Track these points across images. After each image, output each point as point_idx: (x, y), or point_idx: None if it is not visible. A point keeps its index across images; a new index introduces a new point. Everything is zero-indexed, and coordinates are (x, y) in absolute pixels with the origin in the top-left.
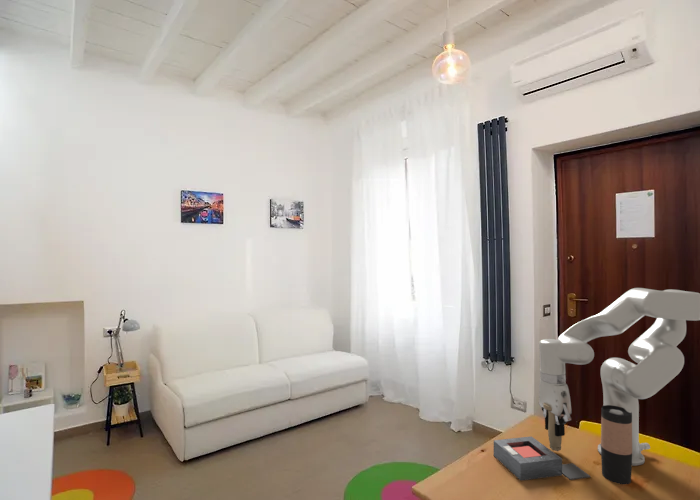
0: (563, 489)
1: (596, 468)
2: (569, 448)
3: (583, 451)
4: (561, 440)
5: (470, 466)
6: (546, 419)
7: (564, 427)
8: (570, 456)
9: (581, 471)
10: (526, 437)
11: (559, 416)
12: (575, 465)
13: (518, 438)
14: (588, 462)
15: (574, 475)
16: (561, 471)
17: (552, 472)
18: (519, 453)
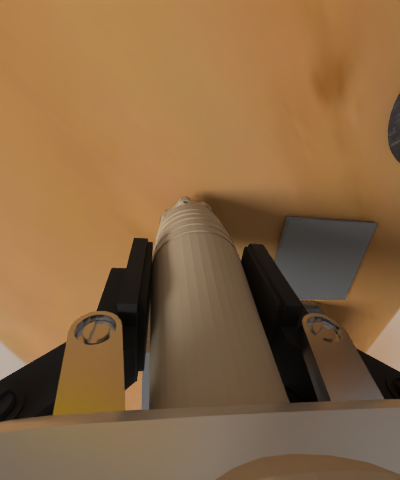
0: (355, 339)
1: (357, 135)
2: (168, 95)
3: (222, 32)
4: (223, 226)
5: None
6: (141, 367)
7: (283, 276)
8: (235, 167)
9: (343, 231)
10: (148, 376)
11: (282, 383)
12: (306, 220)
13: (148, 406)
14: (309, 125)
15: (343, 274)
16: (320, 312)
17: None
18: None
